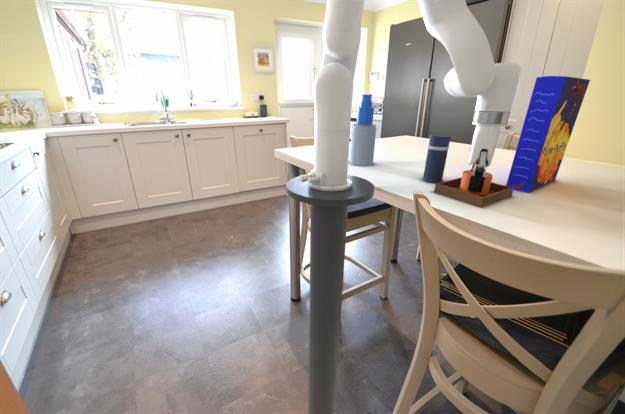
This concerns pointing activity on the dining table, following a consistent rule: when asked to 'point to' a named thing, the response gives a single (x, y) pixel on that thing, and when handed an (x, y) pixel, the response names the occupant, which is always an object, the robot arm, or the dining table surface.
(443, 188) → the tray
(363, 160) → the grey and blue bottle
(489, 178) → the cap
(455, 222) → the dining table surface
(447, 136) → the spray can
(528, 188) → the cereal box
